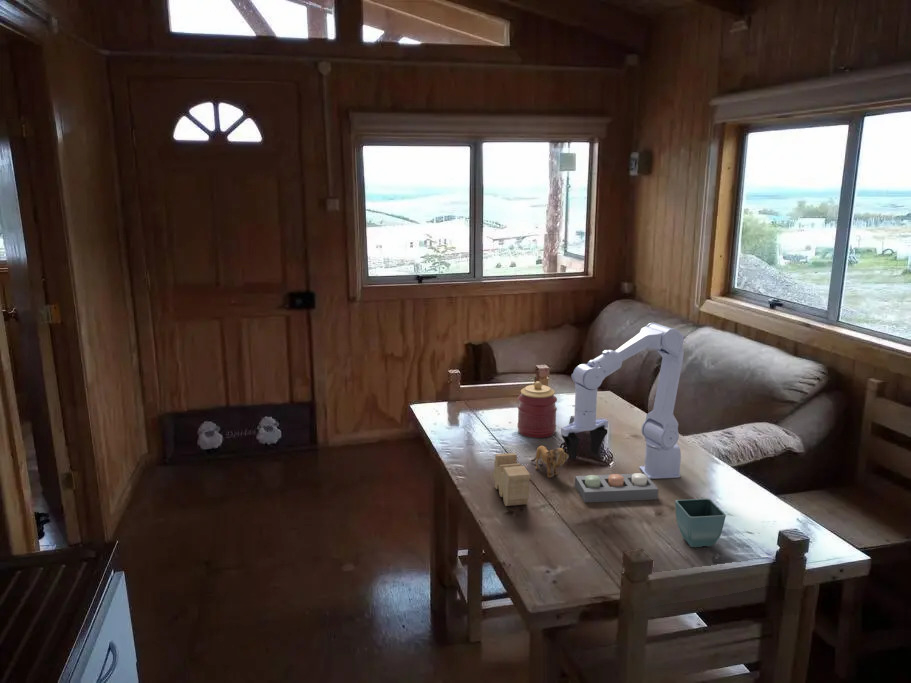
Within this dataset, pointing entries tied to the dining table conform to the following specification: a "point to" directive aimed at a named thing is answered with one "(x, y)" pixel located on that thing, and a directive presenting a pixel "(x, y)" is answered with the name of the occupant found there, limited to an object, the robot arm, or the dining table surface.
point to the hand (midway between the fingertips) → (583, 455)
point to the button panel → (616, 490)
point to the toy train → (511, 479)
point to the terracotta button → (615, 480)
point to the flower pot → (699, 521)
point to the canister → (537, 411)
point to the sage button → (592, 481)
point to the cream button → (639, 479)
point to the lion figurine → (550, 458)
